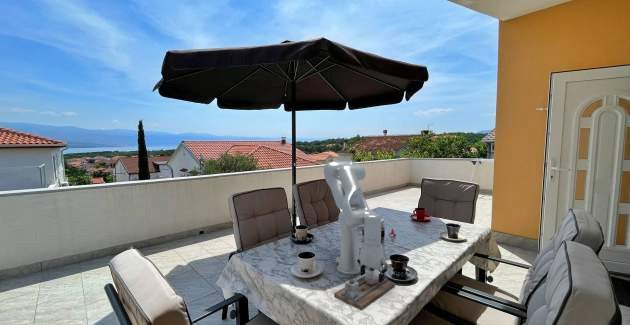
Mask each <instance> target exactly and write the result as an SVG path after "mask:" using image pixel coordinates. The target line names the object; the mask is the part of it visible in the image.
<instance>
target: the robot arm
mask: <svg viewBox="0 0 630 325" xmlns="http://www.w3.org/2000/svg"><path fill="white" fill-rule="evenodd" d="M323 175H324V179H325V181H326V184H328V187H329V188H330V190H331V193H332V196H333V199H334V203H335V205H336V207H337V208H338V209H339V210H341V211H340V212H339V215H338V225H339V230H340V231H339V233H340V237H339V239H340V241H339V242H340V243H339V244H340V253H339V254H340V256H337V257H336V259H335V262H336V263H338V264H337V267H336V268H337V270H338V271H339V273H341V274H345V275H357V274H359V273H360V276H362V277H363V276H365V269H366V268H368V267H370V268H373V269H378V271H379V283H381V282H383V281H384V279H385V273H387V271H389V269H390V268H391V265H390V264H389V263H388V262H387V261H386V260H385V259H384V258H385V256H384V250H383V245H382V216H381V214H379V213H376V212H374V211H373V210H372V209H370V208H369V205H368V203H367V201H366V198H365V196H364V195H363V193H362V191H363V190H362V186H361V184H360V181H362V180H364V179H365V178H366V170H365V168H364V166H363V165H361V163H357V162H354V161H351V160H334V161H329V162H327V163H325V165H324V167H323ZM359 227H360V228H361V227H363V235H362V237H361V239H363V242H361V247H360V241H359V239H360V237H359V234H358V232H357V231H356V228H359ZM359 247H360V248H359ZM359 249H360V250H359ZM359 251H360V252H359Z"/></svg>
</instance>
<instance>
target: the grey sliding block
mask: <svg viewBox="0 0 630 325" xmlns="http://www.w3.org/2000/svg"><path fill="white" fill-rule="evenodd" d="M379 274H380V272H379V271H378V269H373V268H370V267H368V266H367V267H366V269H365V274H364V276H365V282H367V283H369V284H372V285H373V284H375V283H376V282H378V281H379Z"/></svg>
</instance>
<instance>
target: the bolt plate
mask: <svg viewBox="0 0 630 325" xmlns="http://www.w3.org/2000/svg"><path fill="white" fill-rule="evenodd" d="M395 287H396V283H395V282H392V281H390V280H389V279H388V278H384V281H383V282H381V283H379V281H378V282H376V283H375V284H373V285H372V284H369V283H367V282H365V275H363V276H362V277H361V278H359V279H357V280H354V279H349V280H347V281H345V282H344V287H343V288H341V289H339V290H337V291H335V292H334V293H333V297H334V298H336V299H338V300H340V301H342V302H343V303H346V304H348V305H350V306H352V307H354V308H356V309H357V310H360V311H362V310H364V309H365V308H367V307H368V306H369V305H371V304H372V303H374V302H375V301H376V300H378V299H380V298H381V297H382V296H383V295H386V293H388V292H389V291H391V290H392V289H393V288H395Z"/></svg>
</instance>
